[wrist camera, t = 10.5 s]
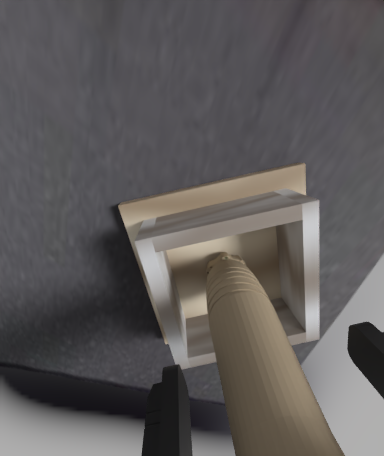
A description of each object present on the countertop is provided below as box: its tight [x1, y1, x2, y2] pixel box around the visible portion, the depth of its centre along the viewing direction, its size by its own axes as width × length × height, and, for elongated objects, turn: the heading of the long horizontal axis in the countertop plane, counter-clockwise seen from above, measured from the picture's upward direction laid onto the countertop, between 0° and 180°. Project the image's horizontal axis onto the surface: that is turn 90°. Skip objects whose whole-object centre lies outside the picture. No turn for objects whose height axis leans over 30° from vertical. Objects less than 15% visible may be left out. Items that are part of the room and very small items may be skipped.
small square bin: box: [118, 163, 319, 369], centre depth 17 cm, size 14×14×5 cm
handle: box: [206, 252, 345, 456], centre depth 11 cm, size 5×6×15 cm
